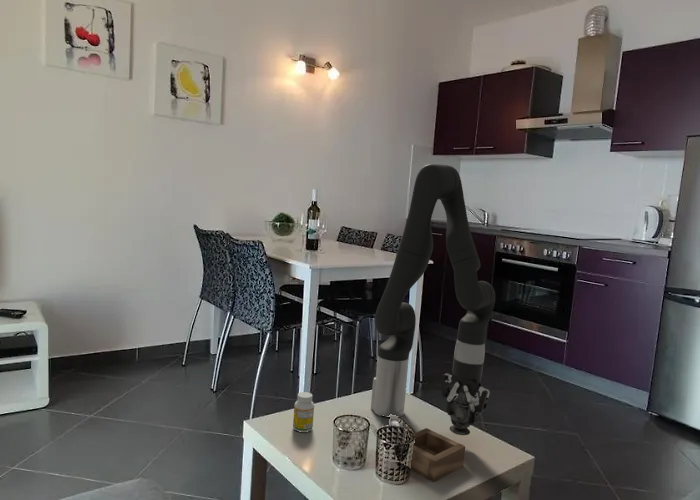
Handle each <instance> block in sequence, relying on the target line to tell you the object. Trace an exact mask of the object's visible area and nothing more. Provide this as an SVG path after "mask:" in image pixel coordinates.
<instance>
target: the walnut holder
mask: <svg viewBox="0 0 700 500" xmlns="http://www.w3.org/2000/svg"><path fill="white" fill-rule="evenodd" d="M414 434H415V438H416V440H415V443H414V445H413V454H412V460H411V469H410V470H411V471H413V472H415V473H417V474H419V475H420V476H422V477H424V478H426V479H428V480H429V481H430V482H432V483H435V482H436V481H438V480H440V479H442V478H443V477H445V476H447V475H449V474H450V473H453V472H454V471H456V470H458V469H460V468H462V467H464V463H465V455H466V454H465V453H466V446H465V445H464V444H461V443H460V442H457V441H455V440H452V439H450V438H448V437H447V436H444V435H442V434H441V433H439V432H436V431H434V430H431V429H430V428H427V427H426V428H424V429H421V430H418V431H415V432H414Z"/></svg>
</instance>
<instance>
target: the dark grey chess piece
mask: <svg viewBox="0 0 700 500" xmlns="http://www.w3.org/2000/svg"><path fill="white" fill-rule="evenodd" d="M469 409H470V404H469V403H468V401H467V398H466V397H465V395H464V393H462V392H460V393H459V395H458V396H457V401H456V408H455V413H452V414H451V415H449V417H450V421H451V426H450V427H449V430H450V432H451V433H453V434H454V435H458V436H468V435H470V434H471V430H470V429H469V427H470V426H471V425H469V424H468V423H469V415H470V414H469Z"/></svg>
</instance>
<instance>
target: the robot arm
mask: <svg viewBox="0 0 700 500" xmlns="http://www.w3.org/2000/svg"><path fill="white" fill-rule="evenodd" d="M416 175H417V176H416V178H415V181H414V186H413V190H412V191H413V192H412V195H411V202H410V207H409V212H408V215H407V218H406V222H405V226H404V229H403V233H402V236H401V238H400V242H399V245H398V249H397V251H396V254H395V259H394V262H393V266H392V268H391V271H390V275H389V278H388V280H387V282H386V283H387V284H386V286H385V288H384V292H383V294H382V296H381V298H380V301H379V302H378V305H377V308H376V312H375V316H374V325H375V329H376V331H377V332H378V333H379V334H380V335H382V336H388V338H387V339H386V340H385V341H384V342H382V343H381V344H379V345H378V349H377V359H376V360H377V361H376V371H375V372H376V375H375V377H373V379H372V390H371V401H370V402H371V404H370V410H372V412H374V414H375V415H377V416H379V417H382V416H381V415H384V416H389V415H390V414H392V415H396V416H399V417H398V418H400V417H401V418H402V417H403V416H404V414H405V403H406V394H407V393H406V392H407V385H408V384H407V381H408V371H409V361H410V359H409V358H410V353H411V351H412V349H413V345H414V337H415V331H416V322H417V321H416V312H415V309H414V307H413V306H412V305H411V304H410V303H409V302H403V301H404V299H405V297H406V295H407V294H408V292H409V291H410V289H412V287H414V285H415V284H416V283H417V282H418V281H419V280H420V278H421V277H422V276H423V275H424V273H425V272H426V271H427V269H428V265H429V263H430V259H431V256H432V254H433V249H434V239H433V238H434V237H433V232H432V217H433V213H434V210H435V206H436V204H437V202H438V200H440V201H441V204H442V206H443V208H444V212H445V215H446V230H445V246H446V251H447V253H448V257H449V260H450V263H451V267H452V269H453V278H454V279H453V280H454V291H455V295H456V300H457V301H458V303H459V305H460V306H461V307H462V308H463V309H465V310H466V314H465V315H464V316H463V317H462V318H461V319H460V320H459V323H458V330H457V336H456V337H457V338H456V342H455V346H454V347H455V348H454V355H453V361H452V362H453V363H452V374H451V373H449V372H446V373H444V374H442V375H441V397H443V398H445V399H446V401H447V405H446V412H447V415H448V416H450V415H451V414H452V413H455V412H456V406H457V404H456V402H457V401H456V399H458V395H459V393H460V392H462V393H464V395H465V397H466V398H467V401H468V403H469V404H470V406H469V409H470V411H469V414H468V415H469V423H468V424H469V425H470V426H473V425H475V424H476V423H477V422H478V418H479V413H482V412H484V411H486V410H487V408H488V404H489V402H490V401H489V400H490V398H491V394H492V390H491V389H490V388H485V387H483V386H482V383H481V380H482V377H483V368H484V362H485V355H486V354H485V353H486V350H485V349H486V339H487V338H486V337H487V330H488V328H487V327H488V324H489V322H490V319H491V317H492V315H493V314H492V313H493V311H494V308H495V303H496V291H495V289H494V287H493V285H492V284H491V283H489V282H488V281H485V280H479V279H478V273H477V272H478V271H479V270H480V268H481V261H480V260H481V259H480V257H479V254H478V251H477V248H476V244H475V243H474V240H473V236H472V232H471V228H470V224H469V220H468V214H467V209H466V203H465V197H464V189H463V184H462V183H463V182H462V180H461V179H462V178H461V176H460V173H459V171H458V170H457V168H455V167H453V166H452V165H448V164H436V163H429V164H425V165H424V166H422V168H420V169H419V171H418V172H417V174H416ZM451 383H452V386H453V387H452V386H451ZM451 387H452V388H451ZM478 392H479V393H478ZM479 397H480V398H479Z"/></svg>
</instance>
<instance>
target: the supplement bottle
mask: <svg viewBox="0 0 700 500" xmlns="http://www.w3.org/2000/svg"><path fill="white" fill-rule="evenodd" d="M296 398H297V400H296V401H295V402H294V408H293V422H292V423H293V424H292V429H293V428H294V429H295V430H297V431H301V432H307V431H310V430H311V429H312V428H313V427H314V415H315V403H314V402H313V394H312V393H311V392H308V391H303V392H302V391H301V392H298V393H297V397H296ZM294 429H293V430H294ZM295 430H294V431H295ZM312 430H313V429H312ZM312 430H311V431H312ZM311 431H310V432H311ZM307 433H308V432H307Z"/></svg>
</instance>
